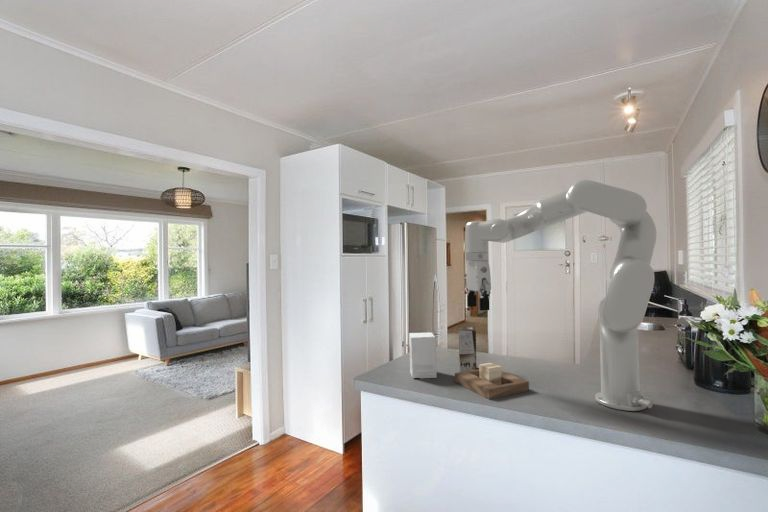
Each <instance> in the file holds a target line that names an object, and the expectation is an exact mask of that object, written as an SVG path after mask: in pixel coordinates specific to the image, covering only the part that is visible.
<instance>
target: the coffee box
mask: <svg viewBox="0 0 768 512" xmlns="http://www.w3.org/2000/svg"><path fill="white" fill-rule="evenodd" d="M458 359H459V361H458V363H459V372H465V371H471V370H477V329H476V327H475V326H458Z"/></svg>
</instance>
